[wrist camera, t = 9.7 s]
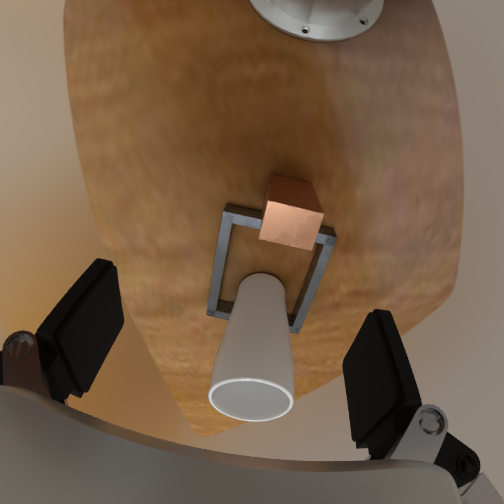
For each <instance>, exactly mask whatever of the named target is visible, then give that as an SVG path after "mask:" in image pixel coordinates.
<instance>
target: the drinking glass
mask: <svg viewBox="0 0 504 504" xmlns="http://www.w3.org/2000/svg"><path fill="white" fill-rule="evenodd" d="M208 397H209V401H210V403H211V404H212V406H213V407H214V408H215V409H217V410H218V411H219V412H221V413H223V414H224V415H227V416H229V417H232V418H235V419H239V420H244V421H267V420H272V419H275V418H278V417H281V416H283V415H284V414H286V413H287V412H288V411H289V410H290V409H291V408H292V406H293V401H294V360H293V352H292V344H291V338H290V331H289V324H288V317H287V310H286V302H285V289H284V286H283V285H282V283H281V282H280V281H279V280H278V279H277V278H276V277H274V276H272V275H269V274H265V273H256V274H252V275H250V276H248V277H246V278H245V279H244V280H243V281H242V282H241V283H240V285H239V288H238V291H237V296H236V299H235V302H234V305H233V308H232V311H231V314H230V317H229V320H228V323H227V326H226V328H225V331H224V334H223V337H222V340H221V342H220V345H219V348H218V351H217V355H216V358H215V362H214V366H213V371H212V375H211V381H210V387H209V393H208Z"/></svg>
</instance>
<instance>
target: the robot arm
mask: <svg viewBox="0 0 504 504" xmlns="http://www.w3.org/2000/svg"><path fill="white" fill-rule="evenodd" d="M250 2H251V4H252V6H253V8H254V9H255V10H256V12H257V13H258V14H259V15H260V16H261V17H262V18H263V19H264V20H265V21H266V22H267V23H269V24H270V25H272V26H273V27H275V28H276V29H278V30H280V31H281V32H284V33H286V34H288V35H291V36H293V37H296V38H300V39H303V40H308V41H315V42H336V41H343V40H347V39H350V38H353V37H356V36H358V35H359V34H361V33H363V32H365V31H366V30H367V29H369V28H370V27H371V26H372V25H373V24H374V23H375V22H376V20H377V19H378V18H379V16H380V14H381V12H382V10H383V5H384V0H250ZM359 21H362V22H363V23H364V25H362V24H361V23H360V22H359ZM302 30H306V31H307V34H304V33H302ZM123 324H124V315H123V310H122V303H121V296H120V290H119V282H118V274H117V268H116V266H113V263H112V261H109V260H105V259H100V258H98V259H96V260H95V261H94V262H93V263H92V264H91V265H90V266H89V268H88V269H87V270H86V271H85V272H84V273H83V274H82V275H81V277H80V278H79V279H78V280H77V281H76V282H75V283H74V285H73V286H72V287H71V288H70V289H69V290H68V292H67V293H66V294H65V295H64V297H63V298H62V299H61V300H60V301H59V302H58V304H57V305H56V306H55V308H54V309H53V310H52V311H51V313H50V314H49V315H48V316H47V317H46V319H45V320H44V321H43V323H42V324H41V325H40V327H39V328H38V329H37V332H36V333H35V335H34V334H32V333H31V332H29V331H24V330H23V331H17V332H14V333H13V334H11V335H10V336H9V337H8V338H7V339H6V340H5V342H4V344H3V349H2V351H0V504H504V501H503V499H502V497H501V496H500V494H499V493H498V492H497V490H496V489H495V487H494V486H493V485H492V483H491V482H490V480H489V479H488V478H487V476H486V475H485V474H484V472H482V473H479V471H480V460H479V457H478V456H477V454H476V453H475V452H474V451H473V450H471V449H470V448H469V447H467V446H466V445H465V444H463V443H462V442H460V441H459V440H458V439H456V438H455V437H454V436H452V435H451V434H450V433H448V432H447V429H448V420H447V417H446V415H445V414H444V412H443V411H442V410H441V409H440V408H439V407H437V406H435V405H430V404H426V405H423V406H422V402H421V397H420V394H419V391H418V387H417V384H416V381H415V378H414V375H413V372H412V369H411V366H410V363H409V360H408V357H407V354H406V351H405V348H404V346H403V343H402V340H401V337H400V335H399V332H398V330H397V327H396V324H395V322H394V319H393V317H392V314H391V312H390V311H388V310H380V309H375V310H373V312H370V313H369V314H368V315H367V317H366V319H365V321H364V323H363V325H362V327H361V329H360V330H359V332H358V334H357V336H356V338H355V340H354V342H353V343H352V345H351V347H350V349H349V351H348V352H347V354H346V356H345V358H344V360H343V365H342V367H343V374H344V380H345V387H346V394H347V402H348V410H349V418H350V426H351V436H352V440H353V441H354V442H356V448H358V449H359V448H368V450H369V455H368V457H367V458H366V460H365V461H295V460H280V459H268V458H258V457H250V456H242V455H235V454H228V453H222V452H217V451H211V450H206V449H201V448H196V447H191V446H187V445H182V444H178V443H174V442H170V441H166V440H163V439H159V438H155V437H152V436H148V435H144V434H141V433H138V432H135V431H132V430H129V429H126V428H123V427H120V426H117V425H114V424H112V423H109V422H106V421H103V420H101V419H98V418H96V417H93V416H91V415H88V414H85V413H83V412H81V411H78V410H76V409H73V408H71V407H69V405H68V401H67V398H68V396H69V394H72V395H74V396H76V397H79V398H81V397H82V395H83V393H84V392H85V393H86V392H88V391H89V389H90V387H91V385H92V383H93V381H94V379H95V377H96V375H97V373H98V371H99V370H100V368H101V366H102V364H103V362H104V360H105V358H106V356H107V354H108V352H109V351H110V349H111V347H112V345H113V343H114V342H115V340H116V338H117V336H118V334H119V332H120V331H121V329H122V327H123Z"/></svg>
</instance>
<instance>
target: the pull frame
mask: <svg viewBox="0 0 504 504" xmlns="http://www.w3.org/2000/svg"><path fill="white" fill-rule="evenodd" d="M323 216H324V213H323V210H322V208H321V205H320V202H319V200H318V197H317V195H316V192H315V190H314V187H313V185H312V183H309V182H305V181H301V180H297V179H293V178H289V177H285V176H281V175H276V174H272V173H271V174H270V178H269V183H268V187H267V191H266V195H265V199H264V205H263V212H261V211H257V210H252V209H248V208H243V207H238V206H234V205H229V204H226V207H225V209H224V211H223V216H222V221H221V227H220V233H219V238H218V244H217V250H216V256H215V262H214V268H213V275H212V281H211V287H210V294H209V300H208V307H207V314H206V315H208V316H212V317H216V318H221V319H225V320H229V317H230V314H231V311H232V308H233V305H234V303H230V302H225V301H221V300H219V296H220V291H221V285H222V280H223V274H224V269H225V264H226V258H227V253H228V248H229V243H230V237H231V232H232V227H233V224H238V225H242V226H247V227H251V228H256V229H260V233H259V239H262V240H266V241H270V242H275V243H279V244H284V245H288V246H292V247H297V248H301V249H306V250H310V251H312V249H313V246H314V243H315V242H316V243H319V244H318V247H317V250H316V253H315V256H314V259H313V261H312V264H311V267H310V270H309V272H308V275H307V278H306V281H305V283H304V286H303V289H302V291H301V294H300V297H299V299H298V302H297V304H296V307H295V310H294V312H293V315H287V317H288V324H289V331H290V333H295V334H298V333H299V331H300V329H301V327H302V324H303V322H304V320H305V317H306V315H307V313H308V310H309V308H310V306H311V303H312V301H313V298H314V296H315V294H316V291H317V289H318V286H319V284H320V281H321V279H322V276H323V274H324V271H325V268H326V266H327V263H328V261H329V258H330V255H331V253H332V250H333V247H334V245H335V242H336V239H337V236H336V234H335V231H334V229H332V228H328V227H324V226H320V225H321V222H322V219H323Z"/></svg>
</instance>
